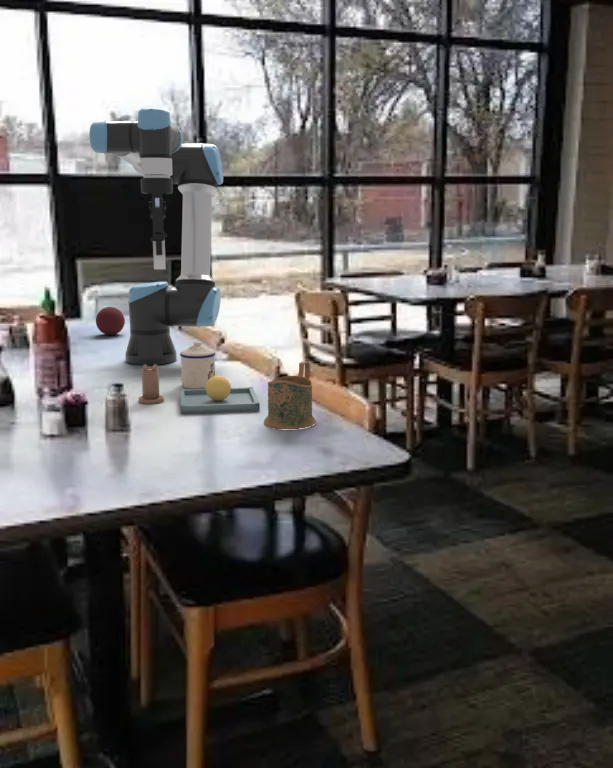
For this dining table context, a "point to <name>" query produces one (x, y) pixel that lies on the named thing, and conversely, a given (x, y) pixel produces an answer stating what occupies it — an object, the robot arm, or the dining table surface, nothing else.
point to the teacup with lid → (197, 366)
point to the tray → (202, 403)
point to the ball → (218, 388)
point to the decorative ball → (110, 320)
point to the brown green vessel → (290, 401)
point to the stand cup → (150, 386)
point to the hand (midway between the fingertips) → (160, 266)
